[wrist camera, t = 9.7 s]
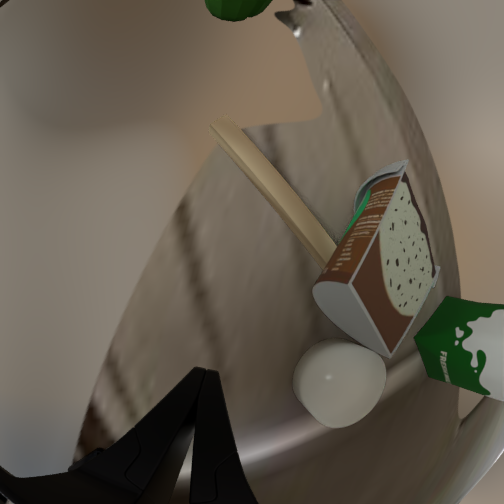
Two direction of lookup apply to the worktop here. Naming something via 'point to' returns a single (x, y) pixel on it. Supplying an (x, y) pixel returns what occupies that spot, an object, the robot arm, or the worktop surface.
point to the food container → (379, 264)
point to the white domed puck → (339, 381)
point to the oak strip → (274, 189)
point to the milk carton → (465, 346)
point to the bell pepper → (236, 8)
